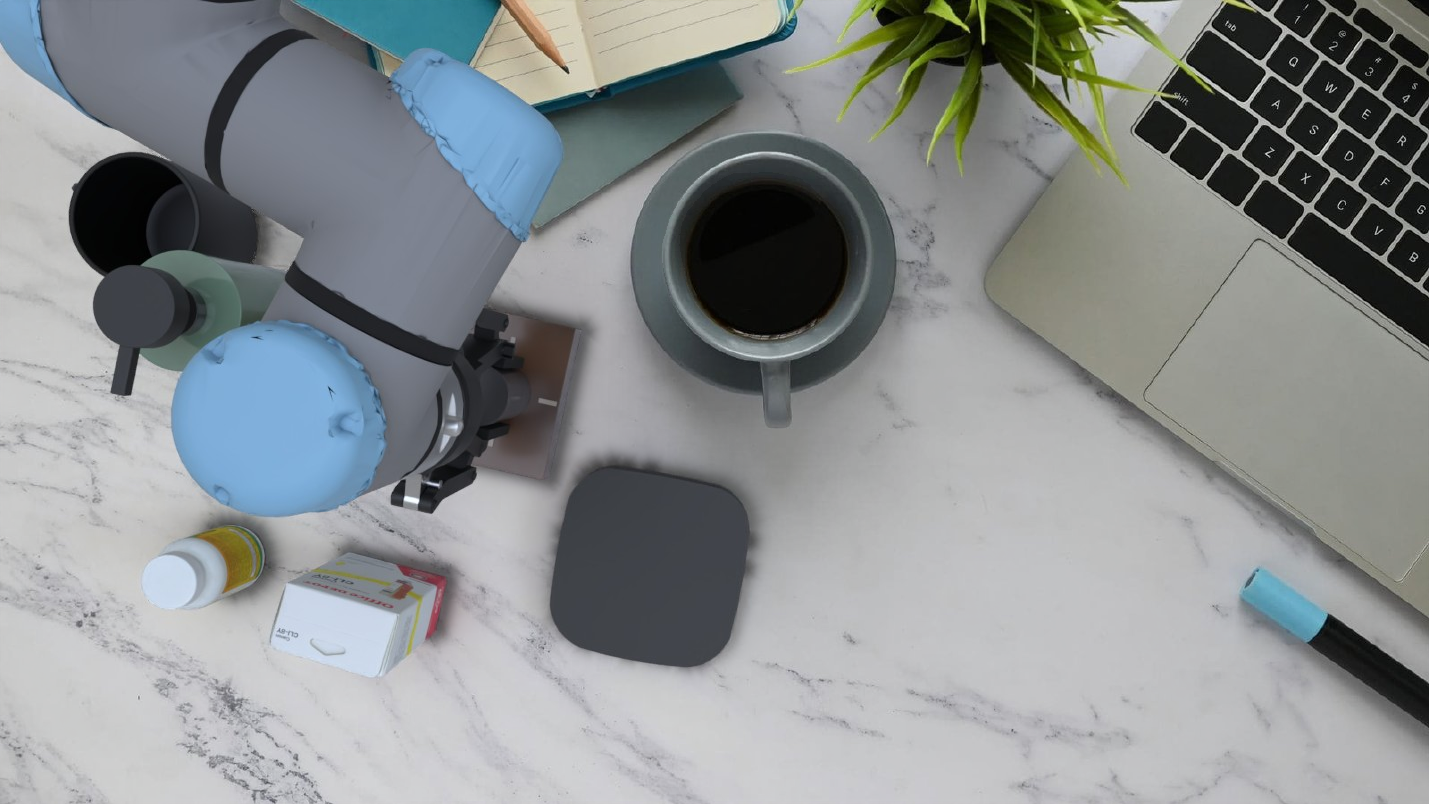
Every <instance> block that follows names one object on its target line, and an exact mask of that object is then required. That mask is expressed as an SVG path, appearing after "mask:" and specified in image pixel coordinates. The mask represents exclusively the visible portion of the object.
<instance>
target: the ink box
mask: <svg viewBox="0 0 1429 804" xmlns="http://www.w3.org/2000/svg"><path fill="white" fill-rule="evenodd" d="M447 581H448V580H447V578H446V577H445V576H441V575H438V574H434V573H431V572H427V571H422V570H421V569H416V568H412V567H408V566H405V565H400V564H397V563H393V562H389V561H385V560H382V559H377V558H375V557H369V556H366V555H362V554H358V553H354V552H351V551H350V552H349V551H348V552H346V553H344V554H342V555H341V556H338V557H336V558H334V559H332V560H331V561H328V562H326V563H325V564H322V565H320V566H318V567H316V568H314V569H312V570H310V571H308V572H306V573H303V574H302V575H300V576H298V577H296V578H294V579H292V580H290V581H287V582H286V583H285V584H284V586H283V589H282V592H281V595H280V597H279V601H278V604H277V607H276V611H275V614H274V618H273V620H272V621H273V622H272V626H271V628H270V633H269V637H268V641H267V642H268V643H267V645H268V646H271V647H272V649H274V650H276V651H278V652H282V653H287V654H289V655H291V656H295V657H298V658H303V659H307V660H310V661H313V662H316V663H318V664H322V665H325V666H328V667H332V668H336V669H340V670H343V671H345V672H349V673H351V674H355V675H360V676H362V677H365V678H368V679H373V678H376V677H377V678H383V677H385V676H386V675H388V673H389V672H391V671H392V670H393V669H394V668H396V666H398V665H399V663H401V662H402V661H404V660H405V659H406V658H407V657H408V656H409V655H410V654H411V653H413V652H414V651H415V650H416V649H417V648H419V647H420V646H421V645H422V644H424V643H425V641H426V640H428V639H429V638H430V637H431V636H432V635H433V634H435V633H436V629H437V623H438V620H439V617H440V612H441V608H442V604H443V600H444V595H445V590H446V585H447Z"/></svg>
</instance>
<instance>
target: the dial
mask: <svg viewBox="0 0 1429 804" xmlns="http://www.w3.org/2000/svg"><path fill="white" fill-rule="evenodd" d="M480 385H481V389H482V394H483V414H482V420H481V423H480V426H479V427H482V426H487V425H491V424H494V423H498V422H502V421H506V420H509V419H512V418H515V417H517V416H518V415H520V414H521V413H522V412H523V411H524V410H525V408H526V407H527V405H528V403H529V399H530V385H529V382H528V379H527V378H526V376H525V375H524V373H523V372H522V371H521V370H520V369H518V368H499V367H494V366H490V367H489V368H488V369H487V370H485V371H484V372H483V373H481V379H480Z"/></svg>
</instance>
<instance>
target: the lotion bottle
mask: <svg viewBox="0 0 1429 804" xmlns="http://www.w3.org/2000/svg"><path fill="white" fill-rule="evenodd" d="M141 266H145V267H151V268H157V269H161V270H163V271H166V272H168V273H169V274H171V275H173V276H174V277H175V278H176V279H177V280H178V281H179V282H180V283H181V285H182V286H183V287H184V289H185V291H186V293H187V296H188V300H189V306H190V312H189V318H188V322H187V324H186V327H185V329H184V330H183V332H182V333H181V334H180V336H179V337H178V338H177V339H175V340H174V341H173V342H171V343H169V344H168V345H165V346H163V347H159V348H152V349H151V348H141V349H140V354H139V355H140V356H141V357H142V358H144V359H145V360H146V361H148V362H149V363H151V364H153V365H155V366H157V367H159V368H161V369H164V370H167V371H171V372H179V373H180V372H181V373H182V372H183V370H184V368H185V367H186V365H187V364H188V362H189V361H190V360H191V359H192V358H193V356H194V355H195V354H196V353H198V352H199V351H200V350H201V349H202V348H203V347H204V346H205V345H207V344H208V343H209V342H211V341H212V340H214V339H215V338H217V337H219V336H221V335H223V334H224V333H226V332H228V331H230V330H232V329H235V328H239V327H242V326H247V325H248V324H253V323H255V322H256V321H260V322H261V320H262V318H263V316H264V315H265V313H266V311H267V309H268V307H269V306H270V304H271V302H272V300H273V298H274V296H275V294H276V293H277V291H278V289H279V287H280V285H281V284H282V282H283V280H284V278H285V275H286V273H287V271H288V270H284V269H279V268H275V267H270V266H265V265H260V264H255V263H252V262H251V263H246V262H241V261H237V260H232V259H227V258H222V257H217V256H212V255H208V254H203V253H198V252H193V251H187V250H175V251H168V252H164V253H161V254H158V255H156V256H154V257H152V258H150V259H148V260H147V261H146V262H144V263H143V264H142V265H141Z"/></svg>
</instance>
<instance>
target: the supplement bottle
mask: <svg viewBox="0 0 1429 804" xmlns="http://www.w3.org/2000/svg"><path fill="white" fill-rule="evenodd" d="M265 555H266V554H265V549H264V546H263V544H262V542H261V540H260V538H259V537H258V536H257V535H256V534H255V533H254V532H253V531H252V530H251V529H248V528H246V527H244V526H241V525H235V524H227V525H221V526H218V527H214V528H212V529H209V530H205V531H201V532H199V533H196V534H192V535H190V536H186V537H183V538H179V539H177V540H175V541H173V542H171V543H170V544H167V546H165V547H164V548H163V549H161V551H160V552H159V554H158V555H157V556H155V557H154V558H152V559H151V560H150V561H148V563H147V564H146V565H145V567H144V568H143V571H142V574H141V577H140V585H141V590H142V592H143V595H144V597H145V598H146V599H147V600H148V601H149V603H150V604H152V605H153V606H155V607H157V608H159V609H161V610H167V611H169V610H170V611H172V610H177V609H179V610H185V611H193V610H195V611H196V610H199V609H203V608H206V607H208V606H210V605H213V604H214V603H216V602H219V601H221V600H223V599H226V598H228V597H229V596H232V595H234V594H236V593H238V592H240V591H242V590H245V589H247V588H248V587H250V586H252V585H253V584H254V583H255V582H256V581H257V580H258V579H259V577H260V576H261V574H262V573H263V571H264V565H265V561H266V560H265V559H266V558H265V557H266V556H265Z"/></svg>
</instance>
